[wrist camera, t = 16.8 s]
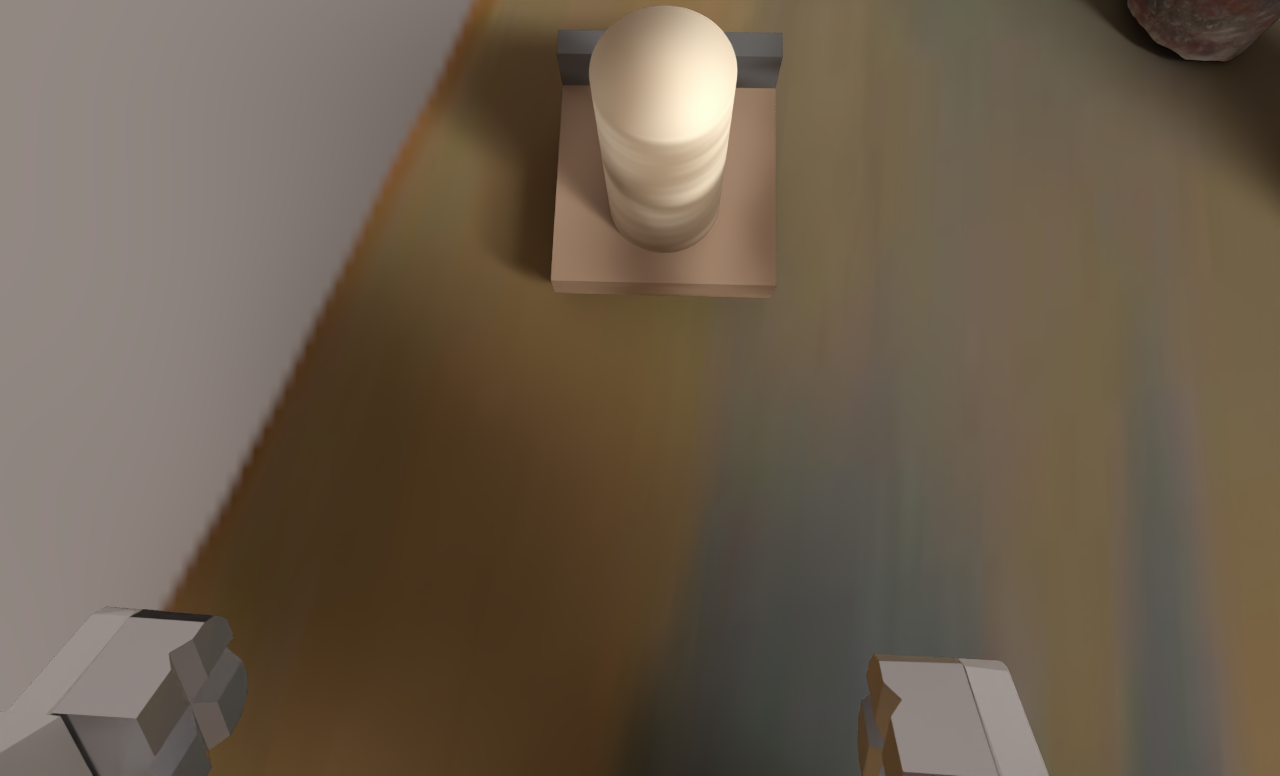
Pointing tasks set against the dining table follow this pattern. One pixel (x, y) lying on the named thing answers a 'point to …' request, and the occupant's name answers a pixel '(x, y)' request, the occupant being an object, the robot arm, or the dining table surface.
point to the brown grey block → (746, 220)
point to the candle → (1205, 25)
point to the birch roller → (663, 123)
